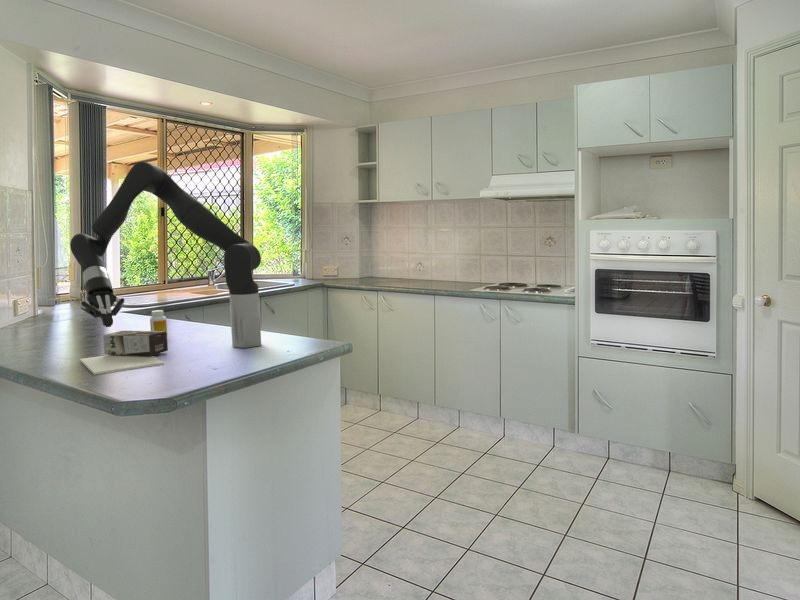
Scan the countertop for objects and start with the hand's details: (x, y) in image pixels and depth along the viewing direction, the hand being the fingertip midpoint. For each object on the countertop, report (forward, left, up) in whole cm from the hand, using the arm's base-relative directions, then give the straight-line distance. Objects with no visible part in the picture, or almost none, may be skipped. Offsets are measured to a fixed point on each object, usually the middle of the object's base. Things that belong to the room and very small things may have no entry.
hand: (108, 325), depth 182 cm
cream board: (-13, 0, -9) cm, 16 cm away
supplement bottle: (+21, -20, -10) cm, 31 cm away
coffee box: (+1, -1, -6) cm, 6 cm away
